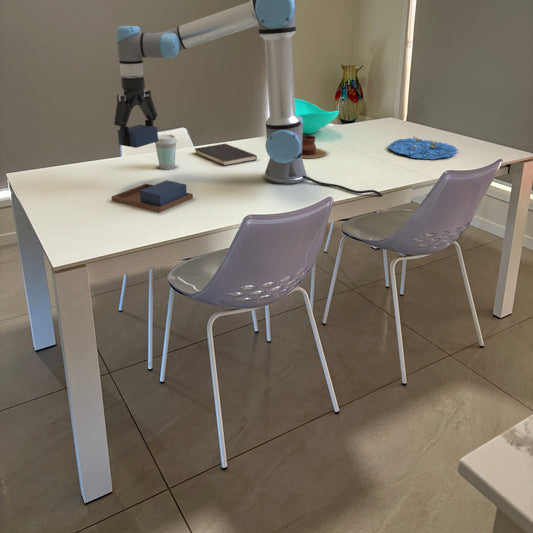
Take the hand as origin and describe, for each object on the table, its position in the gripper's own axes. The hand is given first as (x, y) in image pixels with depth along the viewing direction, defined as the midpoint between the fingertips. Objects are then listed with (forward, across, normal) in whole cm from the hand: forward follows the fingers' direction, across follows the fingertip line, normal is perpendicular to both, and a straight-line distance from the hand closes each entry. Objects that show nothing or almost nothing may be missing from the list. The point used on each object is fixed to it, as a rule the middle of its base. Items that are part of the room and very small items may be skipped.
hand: (138, 142), depth 204 cm
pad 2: (+15, +11, +20) cm, 27 cm away
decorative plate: (+16, -103, +68) cm, 125 cm away
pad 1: (0, 0, 0) cm, 0 cm away
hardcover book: (+16, -47, +2) cm, 49 cm away
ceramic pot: (+16, -71, +27) cm, 78 cm away
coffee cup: (+15, -22, -7) cm, 27 cm away
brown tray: (+15, +11, +15) cm, 24 cm away
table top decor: (+16, -105, +8) cm, 106 cm away
